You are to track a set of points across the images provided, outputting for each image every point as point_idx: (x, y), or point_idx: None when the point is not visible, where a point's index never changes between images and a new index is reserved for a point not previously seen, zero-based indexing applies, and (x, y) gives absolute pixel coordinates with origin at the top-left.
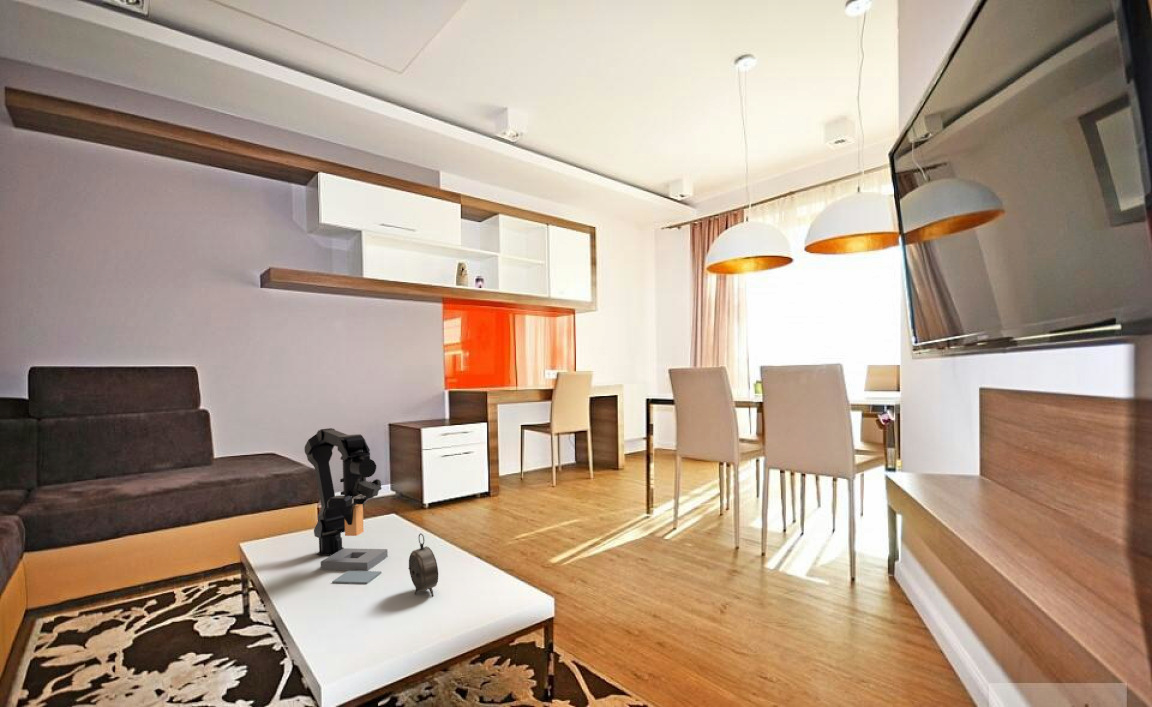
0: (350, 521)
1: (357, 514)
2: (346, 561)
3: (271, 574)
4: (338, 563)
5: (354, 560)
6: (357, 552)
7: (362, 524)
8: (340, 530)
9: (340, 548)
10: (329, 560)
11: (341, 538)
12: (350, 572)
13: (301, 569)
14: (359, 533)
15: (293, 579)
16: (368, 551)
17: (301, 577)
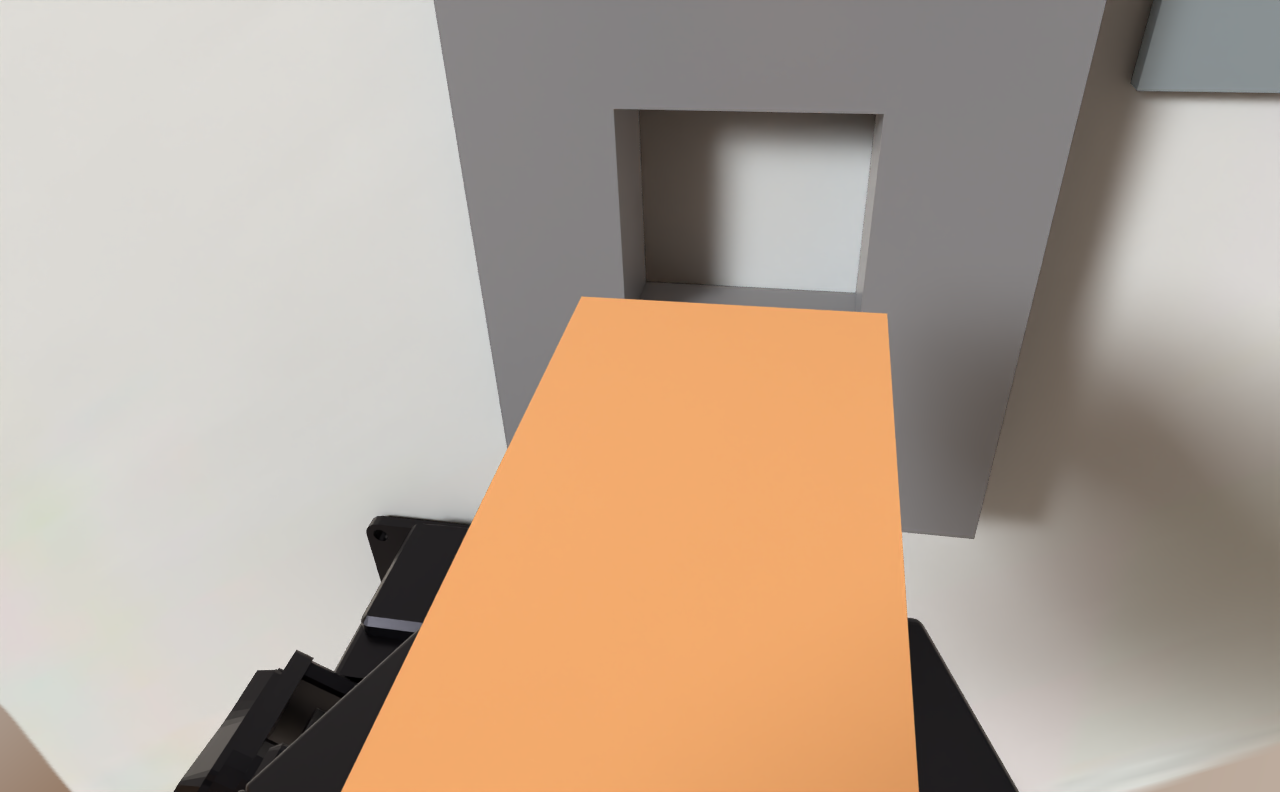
0: (969, 716)
1: (794, 774)
2: (1022, 219)
3: (1031, 778)
4: (1024, 315)
5: (991, 110)
6: (621, 258)
7: (570, 412)
8: (312, 700)
9: (439, 536)
10: (945, 462)
11: (374, 612)
12: (1243, 4)
13: (931, 633)
14: (755, 315)
15: (1228, 594)
16: (569, 104)
17: (1183, 551)
